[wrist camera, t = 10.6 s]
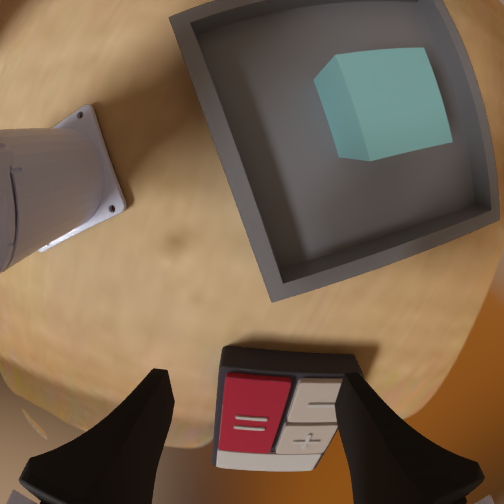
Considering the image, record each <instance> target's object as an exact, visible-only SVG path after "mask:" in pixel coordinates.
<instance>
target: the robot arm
mask: <svg viewBox="0 0 504 504" xmlns="http://www.w3.org/2000/svg"><path fill="white" fill-rule="evenodd" d="M81 113H83V117H82V118H80V115H81ZM112 205H113V206H114V207H115V211H112V209H111V206H112ZM126 206H127V205H126V201H125V198H124V196H123V193H122V191H121V188H120V185H119V183H118V180H117V177H116V175H115V172H114V169H113V166H112V163H111V161H110V158H109V155H108V152H107V149H106V146H105V143H104V140H103V137H102V134H101V130H100V127H99V124H98V121H97V117H96V114H95V111H94V108H93V106H91V105H84V106H83V107H81V108H80V109H78V110H77V111H75V112H74V113H72V114H71V115H69V116H68V117H67V118H65V119H64V120H62V121H61V122H60V123H58V124H57V125H56V126H54V127H53V128H30V129H4V130H0V273H2V272H4V271H5V270H7V269H8V268H10V267H11V266H13V265H14V264H16V263H18V262H19V261H21V260H22V259H24V258H26V257H27V256H29V255H31V254H32V253H34V252H35V251H37V250H38V251H39V252H44V251H46V250H48V249H49V248H51V247H53V246H55V245H57V244H59V243H61V242H63V241H64V240H66V239H68V238H70V237H72V236H74V235H76V234H78V233H80V232H82V231H84V230H86V229H88V228H90V227H92V226H94V225H96V224H98V223H100V222H103V221H105V220H107V219H109V218H111V217H113V216H115V215H118V214H120V213H122V212H123V211H125V209H126ZM174 403H175V401H174V397H173V392H172V388H171V384H170V379H169V374H168V370H163V369H155V368H154V369H152V370H151V371H150V372H149V374H148V375H147V376H146V377H145V378H144V379H143V380H142V382H141V383H140V384H139V385H138V386H137V387H136V388H135V389H134V390H133V391H132V393H131V394H130V395H129V396H128V397H127V398H126V399H125V400H124V401H123V402H122V403H121V404H120V405H119V406H118V407H116V408H115V409H114V410H113V411H112V412H111V413H110V414H109V415H108V416H107V417H105V418H104V419H103V420H102V421H100V422H99V423H98V424H97V425H95V426H94V427H93V428H91V429H90V430H88V431H87V432H85V433H84V434H82V435H81V436H79V437H77V438H76V439H74V440H72V441H71V442H68V443H66V444H64V445H62V446H60V447H58V448H57V449H54V450H52V451H49V452H46V453H44V454H41V455H38V456H35V457H31V458H30V459H29V461H28V462H27V464H26V466H25V468H24V470H23V472H22V474H21V476H20V478H19V482H20V484H21V485H22V486H23V487H25V488H26V489H27V490H28V491H29V492H31V493H32V494H33V495H34V496H36V497H37V498H38V499H39V500H41V502H40V504H152V497H153V489H154V483H155V477H156V471H157V467H158V463H159V459H160V456H161V453H162V450H163V447H164V443H165V440H166V437H167V434H168V431H169V427H170V424H171V420H172V415H173V409H174ZM334 405H335V413H336V419H337V425H338V429H339V432H340V436H341V440H342V443H343V447H344V451H345V454H346V458H347V461H348V465H349V469H350V474H351V481H352V490H353V500H354V504H466V503H467V500H466V498H465V496H466V495H468V494H469V493H470V492H471V491H473V490H474V489H475V488H476V487H478V486H479V485H480V484H481V483H482V482H483V480H484V478H485V476H484V474H483V472H482V470H481V468H480V466H479V464H478V462H475V461H472V460H470V459H467V458H464V457H461V456H459V455H456V454H454V453H452V452H450V451H448V450H446V449H444V448H442V447H440V446H438V445H436V444H435V443H433V442H432V441H430V440H429V439H427V438H425V437H424V436H423V435H421V434H420V433H418V432H417V431H416V430H414V429H413V428H412V427H411V426H409V425H408V424H407V423H406V422H405V421H403V420H402V419H401V418H400V417H399V416H398V415H397V414H396V413H395V412H394V411H393V410H392V409H391V408H390V407H389V406H388V405H387V404H386V403H385V402H384V401H383V400H382V399H381V398H380V397H379V396H378V394H377V393H376V392H375V391H374V390H373V389H372V388H371V387H370V385H369V384H368V383H367V382H366V381H365V380H364V379H363V377H362V376H361V375H360V374H359V373H358V372H356V373H344V376H343V380H342V383H341V386H340V389H339V392H338V395H337V398H336V401H335V404H334ZM7 504H37V503H35V502H33V501H31V500H30V499H28V498H27V497H25V496H23V495H22V494H20V493H19V492H17V491H16V490H12V493H11V495H10V497H9V499H8V501H7ZM475 504H494V502H493V500H492V498H491V496H490V495H488V496H486V497H485V498H483V499H481V500H480V501H478V502H476V503H475Z"/></svg>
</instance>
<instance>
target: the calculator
mask: <svg viewBox="0 0 504 504" xmlns="http://www.w3.org/2000/svg"><path fill="white" fill-rule="evenodd" d="M356 372H358V373H359V374H360V375H361V376H362V377H363V373H362V371H361V368H360V366H359V364H358V362H357V360H356V358H355V356H354V355H352V354H324V353H303V352H288V351H275V350H263V349H253V348H243V347H235V346H225V347H223V349H222V353H221V360H220V366H219V375H218V387H217V400H216V413H215V426H214V440H213V456H212V464H213V465H214V466H217V467H220V468H228V469H240V470H257V471H310V470H312V469H314V468H315V467H316V466H317V464H318V463H319V461H320V459H321V458H322V456H323V454H324V453H325V451H326V449H327V448H328V446H329V444H330V442H331V440H332V439H333V437H334V435H335V433H336V432H337V430H338V425H337V419H336V413H335V405H334V404H335V401H336V398H337V395H338V392H339V389H340V386H341V383H342V380H343V376H344V373H356Z"/></svg>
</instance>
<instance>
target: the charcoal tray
mask: <svg viewBox="0 0 504 504" xmlns="http://www.w3.org/2000/svg"><path fill="white" fill-rule="evenodd" d="M169 20H170V23H171V25H172V28H173V31H174V34H175V36H176V39H177V42H178V45H179V47H180V50H181V53H182V56H183V58H184V61H185V64H186V67H187V69H188V72H189V75H190V78H191V80H192V83H193V86H194V89H195V92H196V94H197V97H198V100H199V103H200V105H201V108H202V111H203V114H204V116H205V119H206V122H207V125H208V127H209V130H210V133H211V136H212V139H213V141H214V144H215V147H216V150H217V152H218V155H219V158H220V161H221V163H222V166H223V169H224V172H225V175H226V177H227V180H228V183H229V186H230V188H231V191H232V194H233V197H234V199H235V202H236V205H237V208H238V211H239V213H240V216H241V219H242V222H243V224H244V227H245V230H246V233H247V236H248V238H249V241H250V244H251V247H252V249H253V252H254V255H255V258H256V261H257V263H258V266H259V269H260V272H261V275H262V277H263V280H264V283H265V286H266V288H267V291H268V294H269V297H270V300H271V302H276V301H279V300H283V299H286V298H289V297H292V296H296V295H299V294H302V293H305V292H309V291H312V290H315V289H318V288H321V287H324V286H327V285H330V284H334V283H337V282H340V281H343V280H346V279H349V278H352V277H354V276H357V275H360V274H363V273H366V272H369V271H372V270H375V269H377V268H380V267H383V266H386V265H389V264H391V263H394V262H397V261H400V260H402V259H405V258H408V257H410V256H413V255H416V254H418V253H421V252H423V251H426V250H429V249H431V248H434V247H436V246H439V245H441V244H444V243H446V242H449V241H451V240H454V239H456V238H459V237H461V236H463V235H466V234H468V233H471V232H473V231H475V230H478V229H480V228H482V227H485V226H487V225H489V224H491V223H494V222H496V221H498V220H500V211H499V194H498V182H497V173H496V165H495V158H494V151H493V145H492V140H491V135H490V130H489V125H488V120H487V116H486V112H485V108H484V104H483V100H482V97H481V93H480V90H479V87H478V83H477V80H476V77H475V74H474V71H473V68H472V65H471V63H470V60H469V57H468V55H467V52H466V49H465V47H464V45H463V42H462V40H461V37H460V35H459V33H458V31H457V29H456V26H455V24H454V22H453V20H452V18H451V16H450V14H449V12H448V10H447V8H446V6H445V4H444V2H443V1H442V0H215V1H211V2H208V3H205V4H202V5H199V6H197V7H194V8H191V9H188V10H186V11H183V12H181V13H178V14H176V15H173V16H171V17H169ZM394 48H424V49H425V52H426V54H427V57H428V59H429V62H430V65H431V67H432V70H433V73H434V76H435V79H436V82H437V85H438V88H439V91H440V94H441V97H442V101H443V104H444V108H445V112H446V115H447V119H448V123H449V127H450V132H451V136H452V141H453V142H451V143H447V144H442V145H437V146H433V147H428V148H423V149H419V150H415V151H410V152H406V153H402V154H398V155H394V156H390V157H386V158H382V159H378V160H374V161H364V160H356V159H348V158H340V157H339V156H338V152H337V149H336V146H335V142H334V139H333V136H332V133H331V129H330V126H329V123H328V120H327V117H326V114H325V111H324V108H323V105H322V102H321V100H320V97H319V94H318V91H317V88H316V86H315V83H314V78H315V77H316V76H317V75H318V74H319V73H320V71H321V70H322V69H323V68H324V67H325V66H326V65H327V64H328V62H329V61H330V60H331V59H332V58H333V57H334V56H335V55H338V54H345V53H352V52H360V51H369V50H380V49H394Z"/></svg>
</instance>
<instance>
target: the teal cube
mask: <svg viewBox="0 0 504 504" xmlns="http://www.w3.org/2000/svg"><path fill="white" fill-rule="evenodd" d="M314 83H315V86H316V88H317V91H318V94H319V97H320V100H321V102H322V105H323V108H324V111H325V114H326V117H327V120H328V123H329V126H330V129H331V133H332V136H333V139H334V142H335V146H336V149H337V152H338V156H339V157H340V158H348V159H356V160H364V161H374V160H378V159H382V158H386V157H390V156H394V155H398V154H402V153H406V152H410V151H415V150H419V149H423V148H428V147H433V146H437V145H442V144H447V143H451V142H453V141H452V136H451V132H450V127H449V123H448V119H447V115H446V112H445V108H444V104H443V101H442V97H441V94H440V91H439V88H438V85H437V82H436V79H435V76H434V73H433V70H432V67H431V65H430V62H429V59H428V57H427V54H426V52H425V49H424V48H394V49H380V50H369V51H360V52H352V53H345V54H338V55H335V56H334V57H333V58H332V59H331V60H330V61H329V62H328V64H327V65H326V66H325V67H324V68H323V69H322V70H321V71H320V73H319V74H318V75H317V76H316V77H315V78H314Z"/></svg>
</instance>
